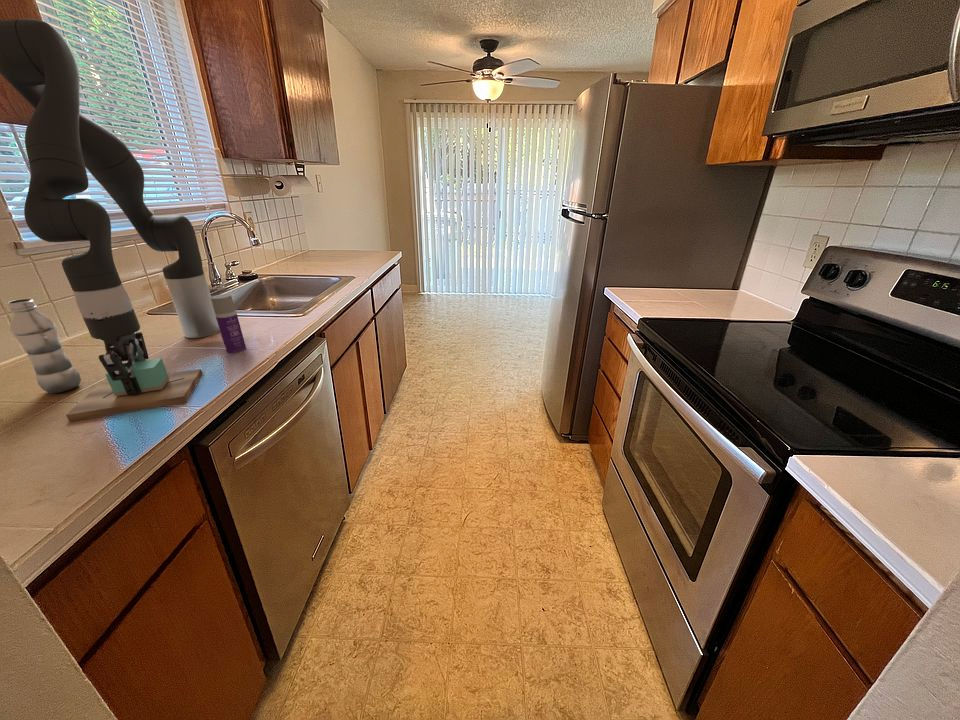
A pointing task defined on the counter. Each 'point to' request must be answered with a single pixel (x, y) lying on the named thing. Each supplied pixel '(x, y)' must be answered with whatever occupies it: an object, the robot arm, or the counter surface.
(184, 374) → the oak board
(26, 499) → the counter surface
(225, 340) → the container
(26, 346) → the plastic bottle
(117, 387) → the block
